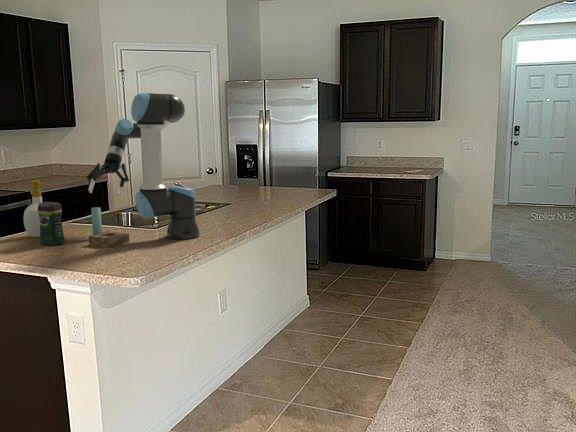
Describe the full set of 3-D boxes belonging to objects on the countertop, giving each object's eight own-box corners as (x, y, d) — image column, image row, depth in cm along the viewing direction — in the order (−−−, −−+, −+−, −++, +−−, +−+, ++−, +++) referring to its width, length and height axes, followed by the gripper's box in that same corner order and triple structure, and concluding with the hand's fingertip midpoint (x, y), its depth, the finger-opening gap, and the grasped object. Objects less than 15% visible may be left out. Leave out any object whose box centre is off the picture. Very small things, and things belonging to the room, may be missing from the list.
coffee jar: (67, 242, 249) (64, 201, 246) (54, 246, 242) (51, 203, 239) (50, 241, 253) (47, 200, 250) (37, 244, 245) (33, 202, 242)
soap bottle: (32, 239, 255) (27, 182, 251) (20, 237, 260) (15, 181, 256) (60, 234, 267) (56, 179, 262) (48, 232, 272) (44, 178, 267)
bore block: (129, 242, 250) (128, 233, 249) (110, 247, 239) (110, 238, 239) (108, 239, 255) (107, 231, 254) (88, 245, 244) (88, 236, 243)
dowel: (104, 237, 260) (102, 207, 257) (98, 239, 256) (96, 209, 254) (97, 236, 261) (95, 207, 259) (91, 238, 258) (89, 208, 255)
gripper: (140, 162, 280) (131, 196, 268) (92, 162, 282) (81, 196, 270) (136, 152, 274) (127, 187, 262) (87, 152, 276) (75, 186, 264)
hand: (103, 191), depth 266 cm, fingers open, 13 cm apart
